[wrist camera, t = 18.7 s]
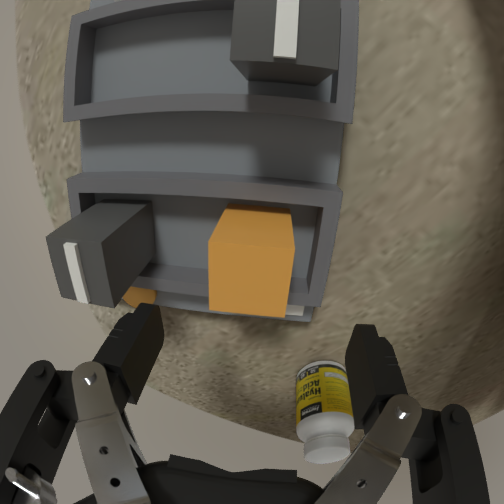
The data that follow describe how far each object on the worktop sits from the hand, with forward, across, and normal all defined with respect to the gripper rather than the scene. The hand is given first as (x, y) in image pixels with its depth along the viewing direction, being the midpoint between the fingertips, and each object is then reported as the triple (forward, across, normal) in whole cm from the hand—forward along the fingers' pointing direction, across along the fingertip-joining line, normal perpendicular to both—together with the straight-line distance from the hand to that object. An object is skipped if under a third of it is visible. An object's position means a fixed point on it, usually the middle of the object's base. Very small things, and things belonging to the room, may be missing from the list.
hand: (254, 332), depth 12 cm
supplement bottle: (+12, -7, +16) cm, 21 cm away
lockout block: (+9, +1, 0) cm, 9 cm away
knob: (+9, 0, -12) cm, 15 cm away
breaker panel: (+11, +5, -6) cm, 14 cm away
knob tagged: (+9, +10, 0) cm, 13 cm away
